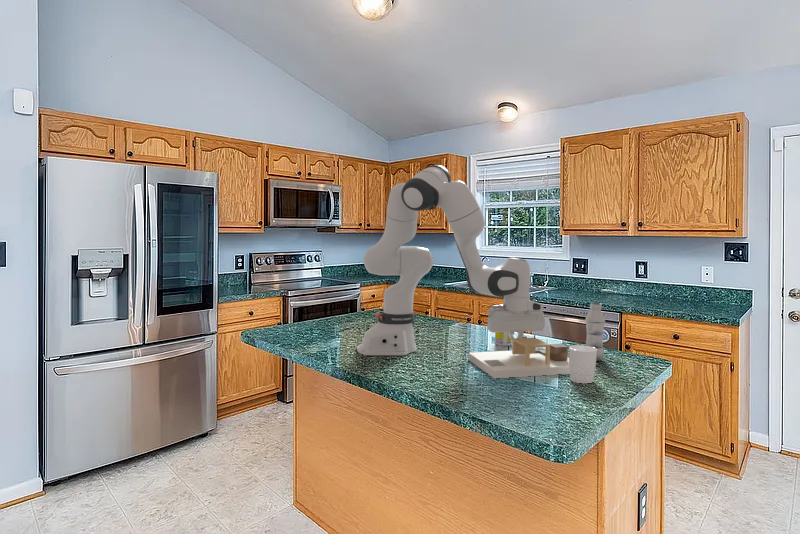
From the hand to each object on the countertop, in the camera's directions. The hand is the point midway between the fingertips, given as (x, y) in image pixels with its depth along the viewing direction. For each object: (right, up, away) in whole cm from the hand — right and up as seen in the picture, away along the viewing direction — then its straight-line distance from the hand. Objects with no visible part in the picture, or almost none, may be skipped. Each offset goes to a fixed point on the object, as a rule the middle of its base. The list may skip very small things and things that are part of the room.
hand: (515, 343), depth 166 cm
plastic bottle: (+28, -6, +1) cm, 28 cm away
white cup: (+14, -8, -23) cm, 28 cm away
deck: (+1, -6, -7) cm, 10 cm away
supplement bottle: (+1, -4, +23) cm, 24 cm away
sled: (+8, -3, -4) cm, 10 cm away
